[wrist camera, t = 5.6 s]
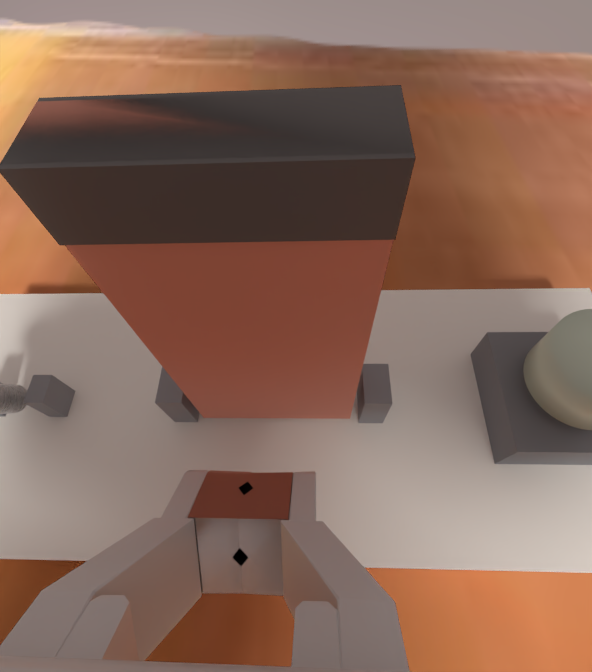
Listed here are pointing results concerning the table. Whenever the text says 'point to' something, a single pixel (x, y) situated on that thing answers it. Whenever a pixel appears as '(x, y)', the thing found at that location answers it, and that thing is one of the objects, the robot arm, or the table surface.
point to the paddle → (230, 230)
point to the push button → (564, 370)
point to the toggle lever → (12, 398)
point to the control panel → (306, 436)
